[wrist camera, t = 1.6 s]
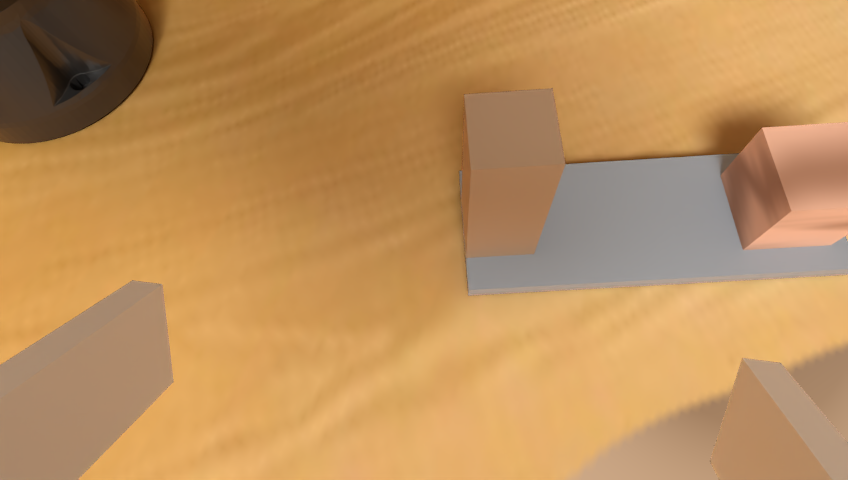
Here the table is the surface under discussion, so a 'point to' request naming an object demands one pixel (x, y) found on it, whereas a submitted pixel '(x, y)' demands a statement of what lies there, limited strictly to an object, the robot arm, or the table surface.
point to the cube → (790, 187)
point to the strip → (599, 212)
